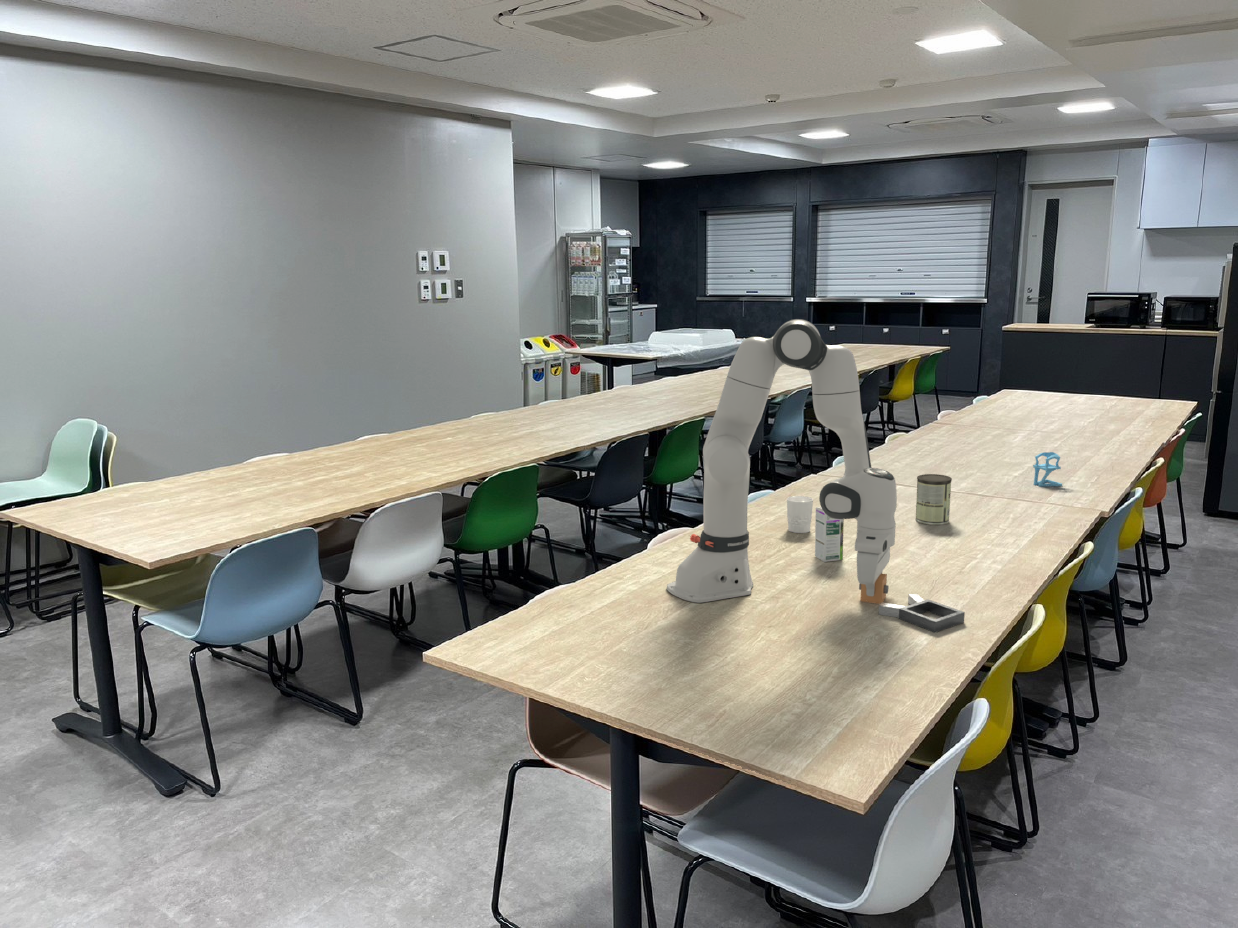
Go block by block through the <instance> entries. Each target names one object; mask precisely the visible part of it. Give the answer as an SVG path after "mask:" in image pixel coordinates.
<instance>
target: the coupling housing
mask: <svg viewBox="0 0 1238 928" xmlns="http://www.w3.org/2000/svg"><path fill="white" fill-rule="evenodd" d="M907 603H908V605H902V604H901V605H900V604H894V603H887V602H883V603H880V604H878V615H881V616H886V617H893V618H898V620H901V621H903V622H906V623H909V624H912V625H914V626H917V627H920V628H922V629H925V630H927V631H929V632H932V633H938V632H940V631H944V630H947V629H950V628H952V627H956V626H958V625H960V624H964V623H965V611H963V610H959V609H956V608H954V607H951V606H949V605H947V604H946V605H945V604H942V603H939V602H936V601H933V600H931V599H924V598H922V596H920V594H918V593H908V597H907ZM925 613H931V614H934V615H937V616H939V617H938V618H935V619H934V618H932V617H929V616H926V615H923V614H925Z"/></svg>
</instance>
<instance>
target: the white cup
mask: <svg viewBox="0 0 1238 928" xmlns="http://www.w3.org/2000/svg"><path fill="white" fill-rule="evenodd" d="M813 504H814V498H812V497H809V496H804V495H793V496H788V497H786V510H787V511H786V512H787V513H786V515H787V516H786V519H787V531H789V532H791V533H793V534H794V533H795V534H807V533H809V532H811V525H812V524H811V523H812V517H813V516H812V515H813Z"/></svg>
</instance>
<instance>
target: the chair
mask: <svg viewBox="0 0 1238 928" xmlns="http://www.w3.org/2000/svg"><path fill="white" fill-rule="evenodd" d="M1040 457H1046V458H1045V463H1042V464H1039V458H1040ZM1034 458H1035V464H1033V466H1032V468H1034V477H1033V484H1032V485H1033V486H1038V487H1043V488H1044V487H1063V483H1061V482H1058V481H1054V480H1050V479H1047V478H1048V476H1049V475H1050V474H1051V473H1052V472H1054V471H1057V470H1061V466H1059V462H1060V460H1061V456H1060V455H1059V454H1058V453H1055V452H1053V451H1050V452H1045V451H1044V452H1041V453H1039V454H1036V455H1035V456H1034ZM1054 459H1055V460H1056V461H1055V465H1054V464H1051V463H1049V462H1050V460H1054ZM1040 470H1042V471H1045V473H1044V475H1043V477H1042V479H1041V480H1039V474H1040Z"/></svg>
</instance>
